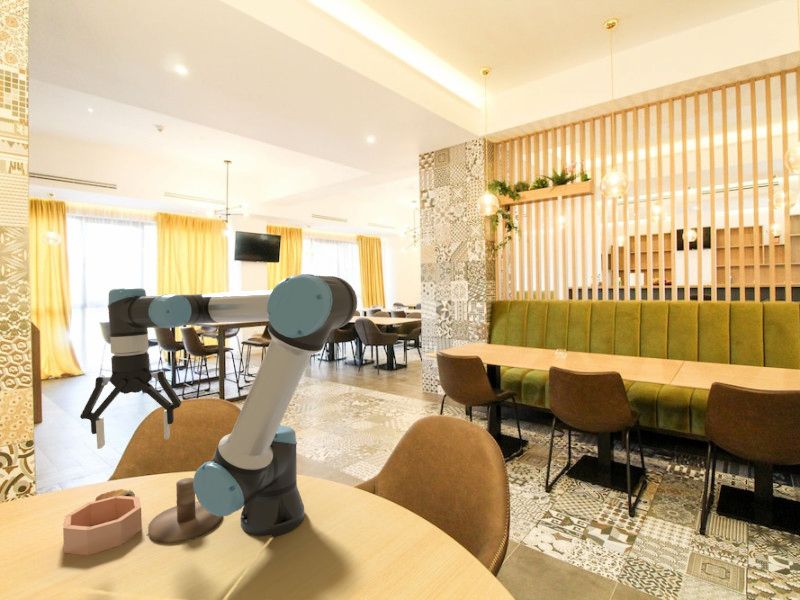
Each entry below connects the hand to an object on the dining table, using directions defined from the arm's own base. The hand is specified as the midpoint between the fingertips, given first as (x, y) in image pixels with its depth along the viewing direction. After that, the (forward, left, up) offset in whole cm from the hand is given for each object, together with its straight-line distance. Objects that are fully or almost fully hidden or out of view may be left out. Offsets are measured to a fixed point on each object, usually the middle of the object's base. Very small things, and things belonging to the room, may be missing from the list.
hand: (134, 442), depth 100 cm
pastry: (+15, -10, -22) cm, 29 cm away
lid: (-10, -3, -21) cm, 23 cm away
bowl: (+6, +4, -21) cm, 22 cm away
